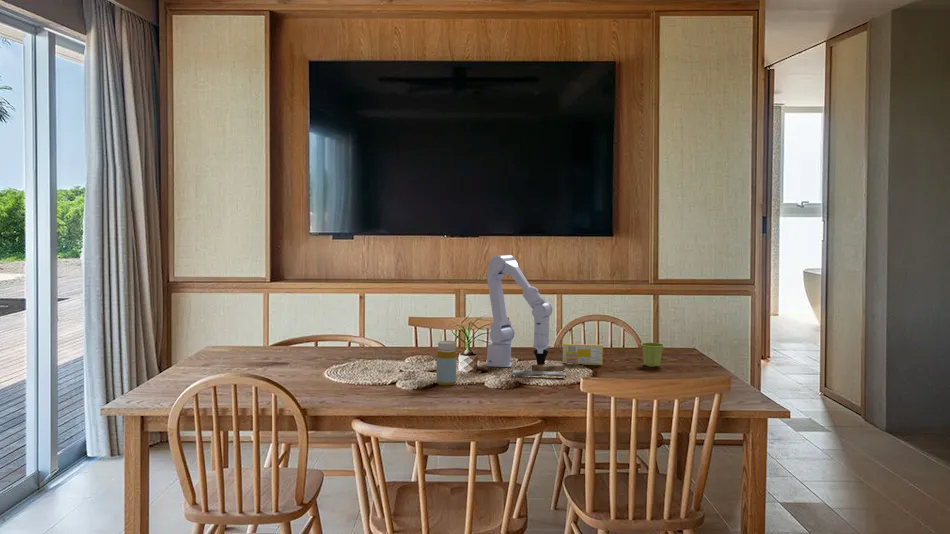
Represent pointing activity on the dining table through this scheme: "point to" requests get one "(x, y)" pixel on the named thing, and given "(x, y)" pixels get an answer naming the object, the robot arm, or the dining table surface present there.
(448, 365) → the bottle
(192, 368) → the dining table surface
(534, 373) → the floor strip
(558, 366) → the plank
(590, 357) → the candy box
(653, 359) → the plant pot
